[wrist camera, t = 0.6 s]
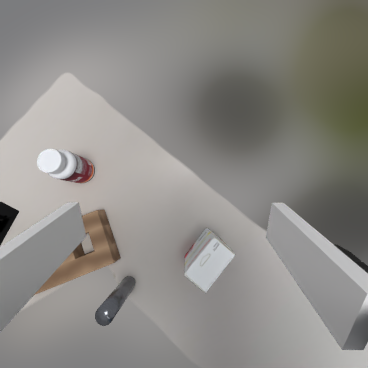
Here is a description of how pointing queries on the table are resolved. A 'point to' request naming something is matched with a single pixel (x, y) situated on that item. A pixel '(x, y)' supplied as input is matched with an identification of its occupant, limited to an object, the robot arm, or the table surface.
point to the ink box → (207, 260)
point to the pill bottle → (65, 165)
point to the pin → (114, 301)
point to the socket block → (92, 261)
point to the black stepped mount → (6, 219)
